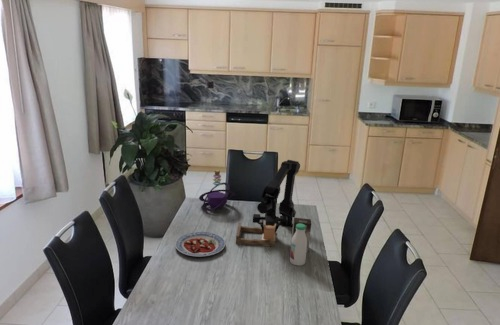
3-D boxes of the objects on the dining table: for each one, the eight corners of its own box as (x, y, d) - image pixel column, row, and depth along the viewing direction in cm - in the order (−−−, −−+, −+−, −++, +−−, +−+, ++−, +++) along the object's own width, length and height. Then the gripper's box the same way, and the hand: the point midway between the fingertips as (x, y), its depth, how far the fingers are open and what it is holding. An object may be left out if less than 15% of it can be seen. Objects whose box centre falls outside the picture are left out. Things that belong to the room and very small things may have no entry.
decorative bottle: (229, 200, 262) (230, 165, 254) (237, 212, 242) (238, 175, 235) (197, 202, 255) (197, 166, 248) (202, 215, 236) (202, 176, 229)
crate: (274, 233, 214) (275, 223, 212) (274, 239, 206) (275, 229, 205) (263, 232, 214) (264, 222, 213) (263, 239, 207) (264, 229, 205)
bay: (274, 232, 218) (275, 225, 217) (275, 246, 203) (275, 238, 202) (238, 229, 219) (238, 222, 218) (235, 243, 204) (236, 235, 203)
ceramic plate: (180, 263, 183) (180, 258, 182) (171, 238, 206) (171, 233, 205) (231, 255, 192) (231, 250, 191) (217, 232, 215) (217, 227, 214)
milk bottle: (306, 259, 192) (310, 223, 186) (303, 267, 185) (307, 230, 179) (291, 256, 194) (294, 220, 188) (287, 264, 187) (291, 226, 181)
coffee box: (290, 250, 200) (293, 222, 195) (290, 244, 206) (293, 217, 201) (308, 251, 199) (311, 223, 195) (308, 246, 205) (310, 218, 201)
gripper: (252, 212, 198) (251, 239, 203) (288, 214, 197) (286, 241, 202) (253, 203, 209) (252, 229, 213) (288, 206, 208) (285, 232, 213)
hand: (269, 233), depth 210 cm, fingers closed on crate, 6 cm apart
